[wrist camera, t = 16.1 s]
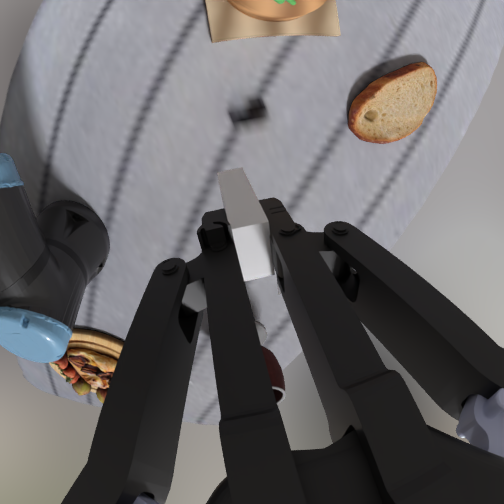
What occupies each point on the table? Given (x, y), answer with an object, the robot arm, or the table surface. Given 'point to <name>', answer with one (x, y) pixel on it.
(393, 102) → the slice of bread
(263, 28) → the bread on wooden board
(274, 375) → the mate gourd
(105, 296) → the table surface
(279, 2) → the gear
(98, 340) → the wooden plate with food
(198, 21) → the table surface
